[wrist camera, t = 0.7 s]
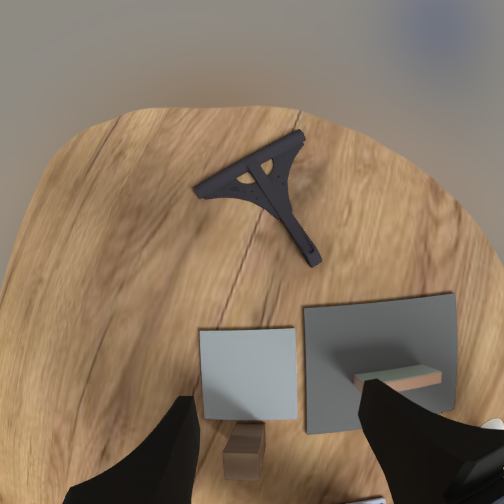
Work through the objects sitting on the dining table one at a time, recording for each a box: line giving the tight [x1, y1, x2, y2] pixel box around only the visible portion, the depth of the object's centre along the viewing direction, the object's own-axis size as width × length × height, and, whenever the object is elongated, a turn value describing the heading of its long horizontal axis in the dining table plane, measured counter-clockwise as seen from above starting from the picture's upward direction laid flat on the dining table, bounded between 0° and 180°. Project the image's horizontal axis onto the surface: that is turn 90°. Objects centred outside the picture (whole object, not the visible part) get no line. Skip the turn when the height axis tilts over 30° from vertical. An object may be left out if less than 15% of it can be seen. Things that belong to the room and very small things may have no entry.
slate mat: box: [304, 293, 457, 435], centre depth 29 cm, size 14×18×1 cm
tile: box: [354, 364, 442, 393], centre depth 26 cm, size 1×8×5 cm, turn 93°
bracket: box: [193, 129, 322, 268], centre depth 33 cm, size 14×15×3 cm
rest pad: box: [200, 328, 297, 420], centre depth 30 cm, size 10×10×1 cm
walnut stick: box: [223, 423, 265, 481], centre depth 25 cm, size 3×3×8 cm
